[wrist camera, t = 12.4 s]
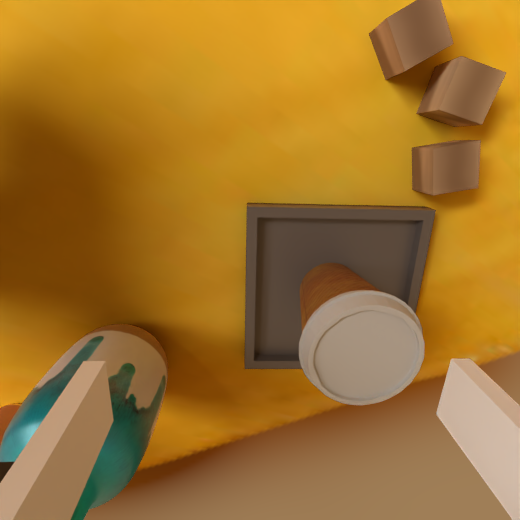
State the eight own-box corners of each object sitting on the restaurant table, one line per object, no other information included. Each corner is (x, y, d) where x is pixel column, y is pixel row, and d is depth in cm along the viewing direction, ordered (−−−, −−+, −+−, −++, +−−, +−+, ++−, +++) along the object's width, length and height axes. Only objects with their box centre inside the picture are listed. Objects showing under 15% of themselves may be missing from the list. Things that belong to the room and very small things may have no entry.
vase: (80, 381, 39) (-61, 582, 21) (84, 300, 36) (-79, 458, 18) (171, 394, 41) (110, 596, 22) (183, 317, 37) (122, 481, 19)
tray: (244, 357, 39) (244, 368, 37) (246, 203, 33) (246, 206, 31) (396, 358, 40) (404, 368, 38) (425, 206, 34) (435, 210, 32)
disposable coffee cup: (390, 291, 36) (456, 358, 25) (322, 344, 38) (354, 430, 27) (335, 228, 34) (380, 271, 22) (265, 289, 36) (274, 357, 24)
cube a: (412, 189, 34) (433, 195, 30) (411, 147, 32) (433, 148, 29) (452, 182, 34) (478, 187, 30) (453, 140, 32) (480, 140, 28)
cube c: (385, 79, 30) (405, 71, 27) (368, 34, 29) (386, 17, 25) (427, 56, 30) (453, 43, 26) (412, 8, 29) (437, -12, 25)
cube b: (416, 113, 31) (439, 109, 28) (434, 66, 30) (461, 56, 26) (454, 126, 32) (482, 124, 28) (474, 81, 31) (506, 72, 27)
